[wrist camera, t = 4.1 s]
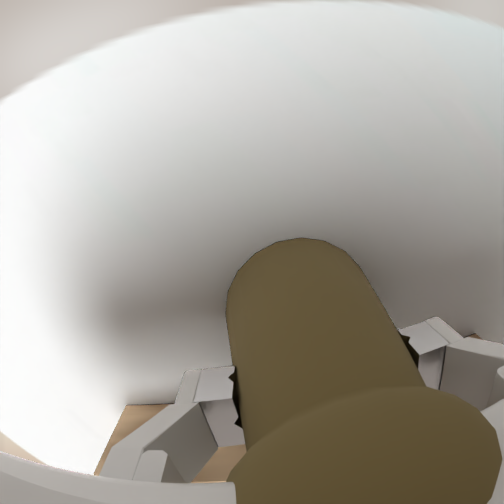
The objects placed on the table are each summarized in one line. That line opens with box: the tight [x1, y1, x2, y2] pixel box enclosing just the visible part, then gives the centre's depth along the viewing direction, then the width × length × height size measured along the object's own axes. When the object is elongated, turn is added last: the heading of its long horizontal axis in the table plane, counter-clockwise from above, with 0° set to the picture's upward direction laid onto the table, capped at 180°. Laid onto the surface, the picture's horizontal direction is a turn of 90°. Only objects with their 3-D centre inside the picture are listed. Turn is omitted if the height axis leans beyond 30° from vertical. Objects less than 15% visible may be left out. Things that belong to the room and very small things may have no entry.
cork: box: [226, 238, 502, 504], centre depth 7 cm, size 6×6×11 cm
